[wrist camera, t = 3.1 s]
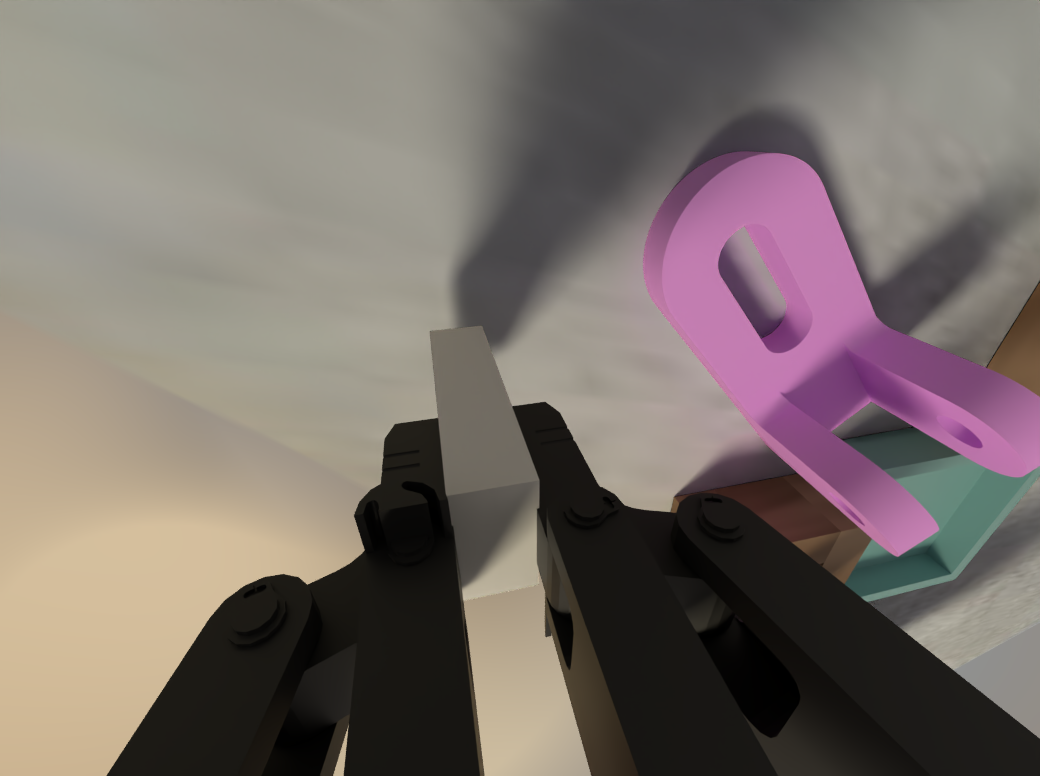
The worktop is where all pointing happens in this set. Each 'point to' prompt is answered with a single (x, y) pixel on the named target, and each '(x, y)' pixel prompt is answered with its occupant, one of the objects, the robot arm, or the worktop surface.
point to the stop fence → (1022, 348)
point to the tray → (933, 511)
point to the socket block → (802, 520)
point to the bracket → (821, 343)
